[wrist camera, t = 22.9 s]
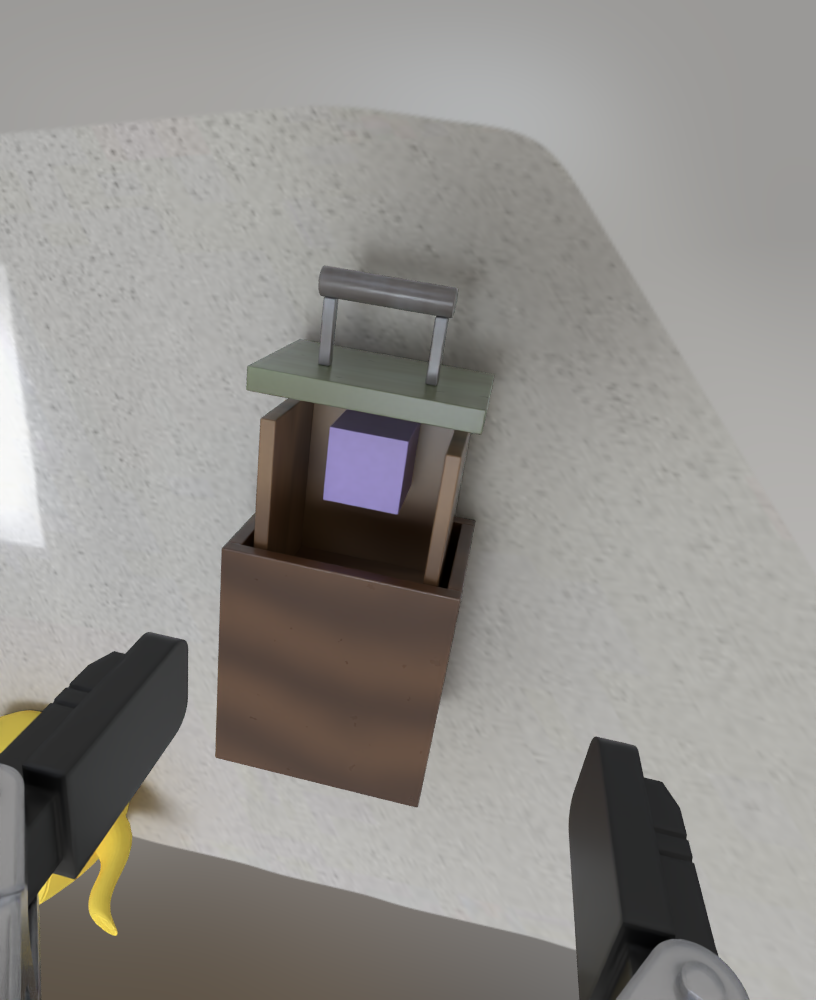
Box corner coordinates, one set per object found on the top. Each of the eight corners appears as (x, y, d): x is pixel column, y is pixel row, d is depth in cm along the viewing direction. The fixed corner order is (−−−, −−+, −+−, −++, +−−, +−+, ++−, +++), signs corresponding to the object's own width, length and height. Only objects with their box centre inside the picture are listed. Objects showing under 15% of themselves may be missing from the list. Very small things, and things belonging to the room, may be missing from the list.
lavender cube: (349, 406, 38) (329, 426, 34) (421, 419, 38) (408, 441, 34) (342, 473, 40) (322, 499, 36) (410, 486, 39) (397, 515, 35)
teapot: (-57, 784, 61) (-170, 893, 51) (-44, 661, 54) (-171, 759, 44) (162, 880, 61) (91, 1007, 51) (201, 769, 54) (128, 890, 44)
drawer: (305, 252, 36) (251, 260, 29) (512, 287, 35) (507, 303, 28) (284, 543, 44) (236, 606, 36) (453, 579, 42) (438, 651, 35)
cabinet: (283, 481, 43) (221, 548, 34) (475, 520, 42) (461, 599, 33) (271, 662, 49) (214, 757, 40) (438, 700, 48) (417, 808, 39)
